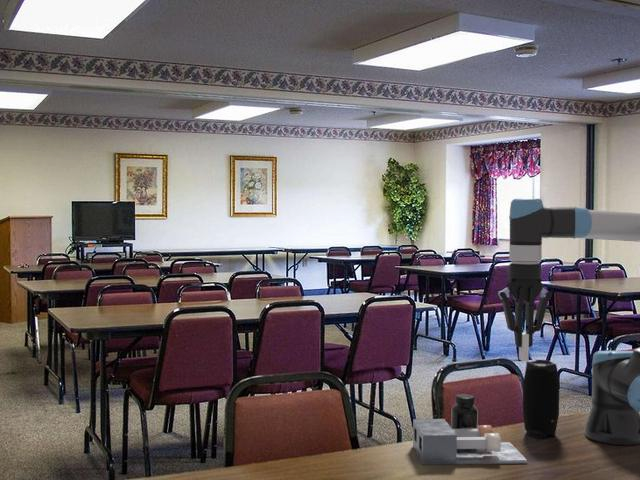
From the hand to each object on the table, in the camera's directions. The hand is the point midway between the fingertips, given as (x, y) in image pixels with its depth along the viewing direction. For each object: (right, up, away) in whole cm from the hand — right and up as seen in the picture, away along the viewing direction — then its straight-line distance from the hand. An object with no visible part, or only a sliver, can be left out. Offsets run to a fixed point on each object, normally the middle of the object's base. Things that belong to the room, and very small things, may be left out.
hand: (523, 360), depth 184 cm
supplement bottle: (-12, -24, +14) cm, 30 cm away
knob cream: (-12, -22, 0) cm, 26 cm away
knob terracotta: (-13, -22, +7) cm, 26 cm away
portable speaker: (+10, -24, +21) cm, 33 cm away
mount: (-13, -24, +4) cm, 27 cm away
